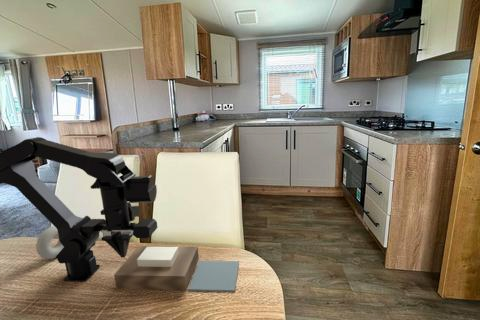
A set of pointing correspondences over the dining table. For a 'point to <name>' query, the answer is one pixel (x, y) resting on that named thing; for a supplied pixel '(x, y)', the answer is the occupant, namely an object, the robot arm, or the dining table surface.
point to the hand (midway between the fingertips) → (123, 256)
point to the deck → (158, 271)
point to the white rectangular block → (158, 257)
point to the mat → (215, 276)
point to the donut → (48, 243)
